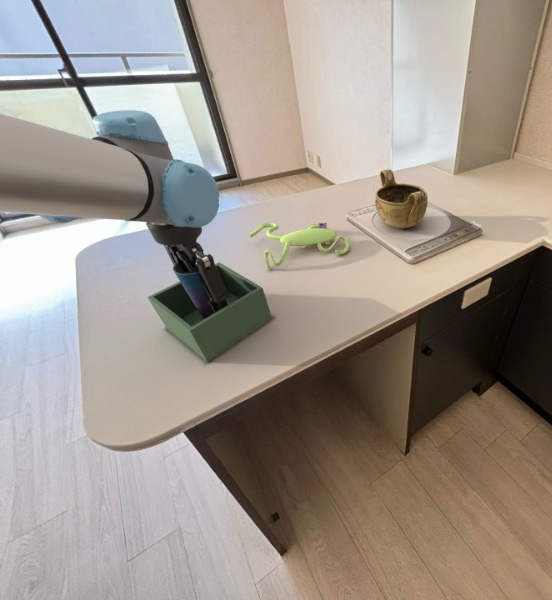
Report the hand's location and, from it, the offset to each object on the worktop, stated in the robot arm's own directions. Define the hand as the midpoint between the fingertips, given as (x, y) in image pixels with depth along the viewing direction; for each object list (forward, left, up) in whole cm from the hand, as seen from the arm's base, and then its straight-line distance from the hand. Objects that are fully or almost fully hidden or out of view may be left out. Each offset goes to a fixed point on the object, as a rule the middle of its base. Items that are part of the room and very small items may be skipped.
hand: (216, 313), depth 70 cm
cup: (0, 0, -2) cm, 2 cm away
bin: (0, 0, -3) cm, 3 cm away
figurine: (+32, +10, -3) cm, 34 cm away
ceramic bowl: (+63, -5, -3) cm, 63 cm away
